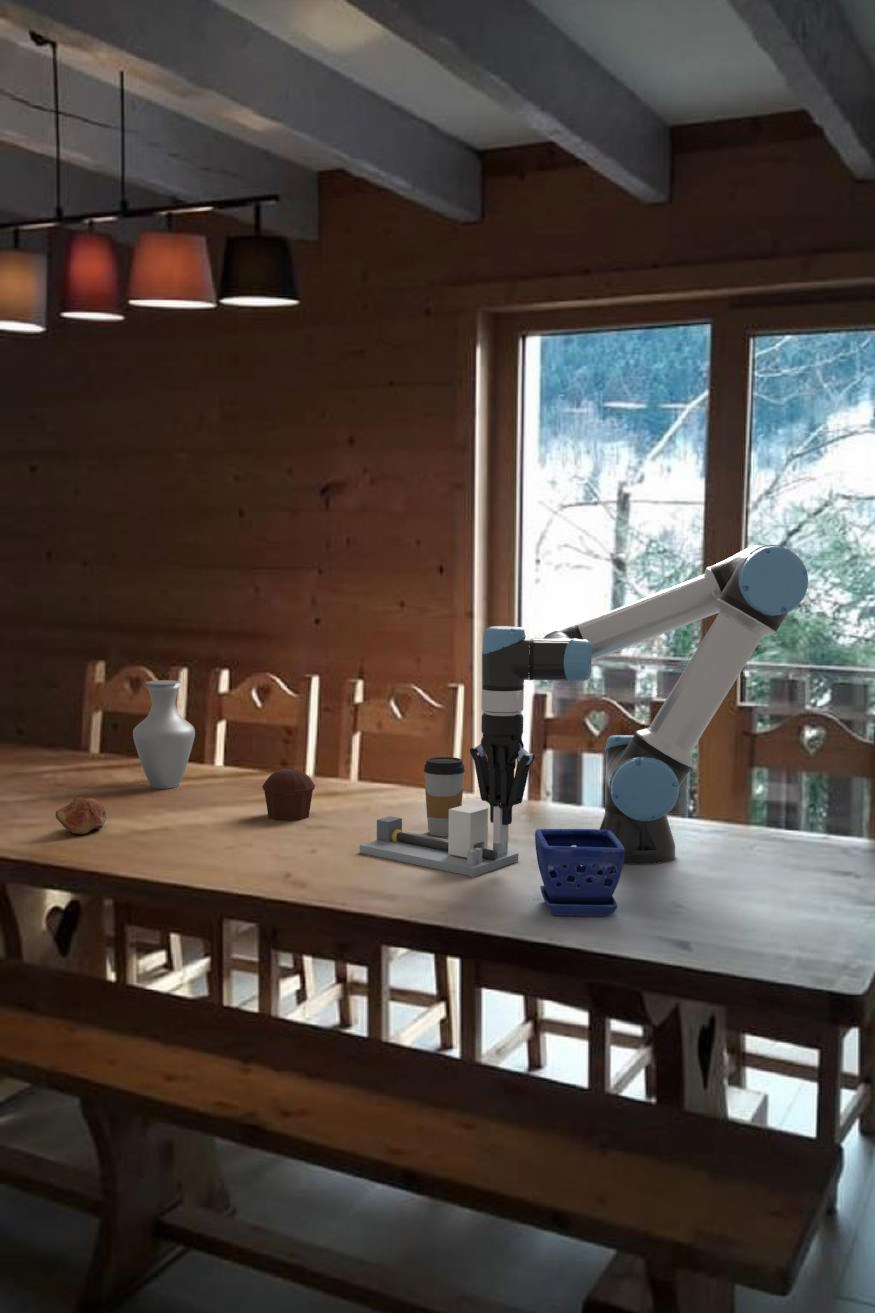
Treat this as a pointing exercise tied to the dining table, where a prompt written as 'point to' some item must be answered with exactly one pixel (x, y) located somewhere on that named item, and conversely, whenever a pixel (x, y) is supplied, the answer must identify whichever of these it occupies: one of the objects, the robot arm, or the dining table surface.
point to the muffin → (288, 795)
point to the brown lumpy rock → (82, 815)
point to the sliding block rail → (433, 850)
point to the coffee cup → (442, 791)
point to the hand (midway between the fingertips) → (500, 841)
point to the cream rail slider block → (467, 829)
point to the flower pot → (579, 870)
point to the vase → (164, 737)
